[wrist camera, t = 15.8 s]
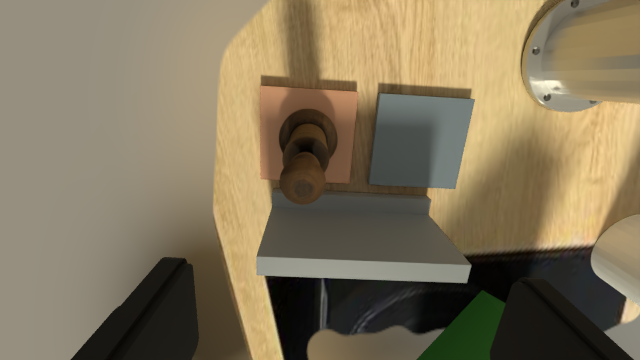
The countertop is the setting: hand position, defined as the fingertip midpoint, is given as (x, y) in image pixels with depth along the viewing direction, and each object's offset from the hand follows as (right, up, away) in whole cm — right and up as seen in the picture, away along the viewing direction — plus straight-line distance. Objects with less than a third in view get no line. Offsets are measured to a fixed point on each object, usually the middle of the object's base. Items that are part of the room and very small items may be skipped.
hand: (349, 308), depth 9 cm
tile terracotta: (-2, +9, +27) cm, 29 cm away
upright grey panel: (+3, -1, +31) cm, 31 cm away
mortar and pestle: (-2, +9, +27) cm, 28 cm away
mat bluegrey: (+11, +8, +28) cm, 31 cm away
